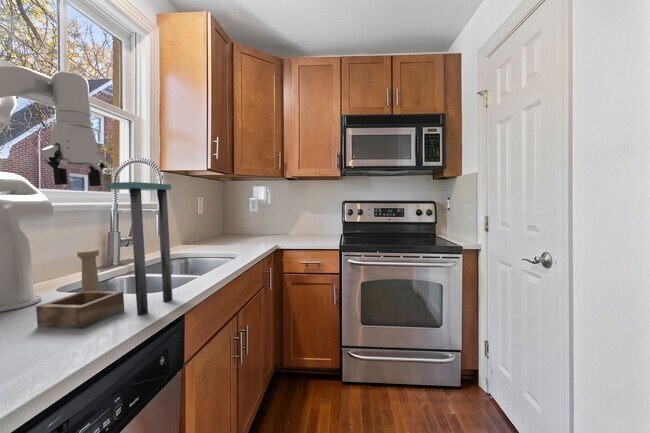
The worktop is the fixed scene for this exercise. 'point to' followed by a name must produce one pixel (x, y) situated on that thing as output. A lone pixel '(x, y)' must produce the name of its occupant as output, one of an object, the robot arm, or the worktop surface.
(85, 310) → the socket
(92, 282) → the handle
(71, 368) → the worktop surface
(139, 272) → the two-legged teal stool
